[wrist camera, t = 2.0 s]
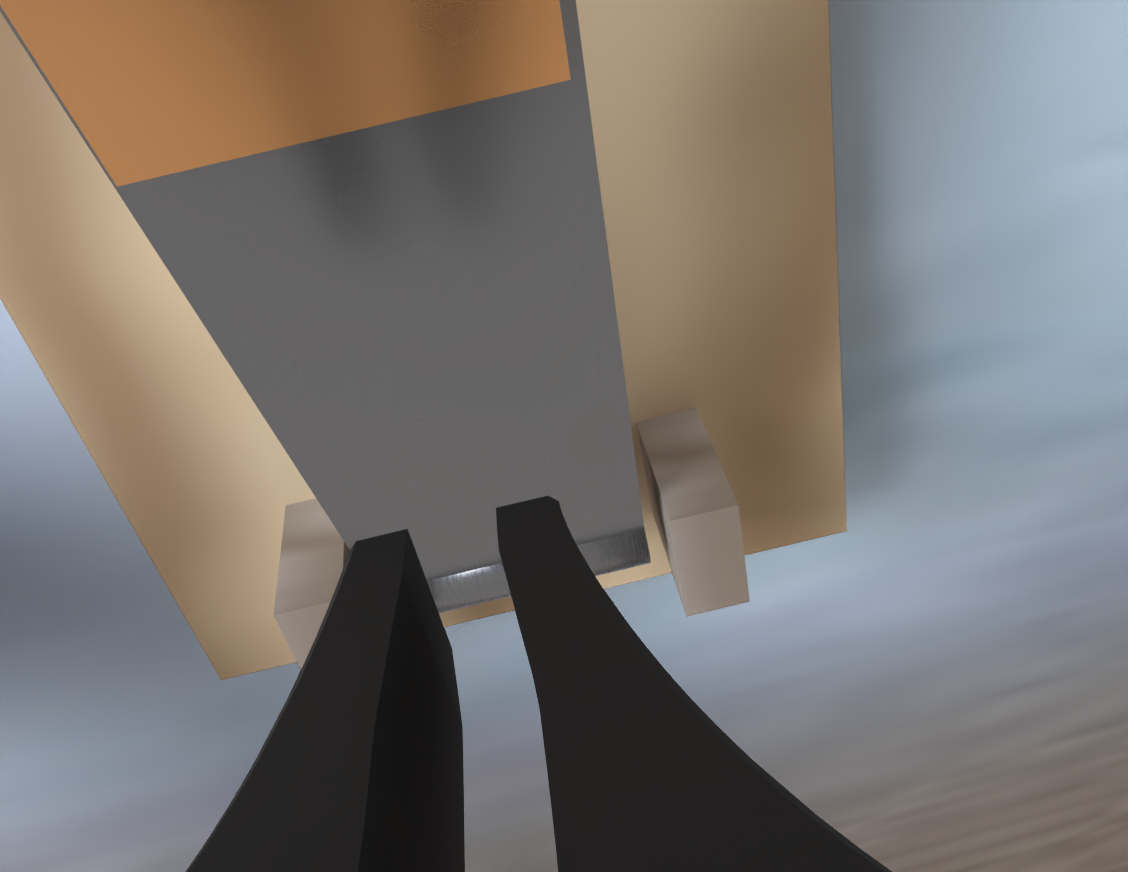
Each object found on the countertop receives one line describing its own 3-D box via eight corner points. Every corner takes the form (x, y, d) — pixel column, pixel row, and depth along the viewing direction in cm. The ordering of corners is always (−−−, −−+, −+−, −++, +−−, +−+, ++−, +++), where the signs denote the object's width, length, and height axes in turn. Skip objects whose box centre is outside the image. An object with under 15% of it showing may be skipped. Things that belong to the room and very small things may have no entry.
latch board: (231, 614, 25) (203, 797, 21) (-510, -757, 12) (-976, -985, 8) (816, 475, 25) (901, 630, 21) (731, -1044, 12) (917, -1417, 8)
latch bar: (390, 563, 21) (399, 642, 20) (-150, -346, 8) (-194, -243, 7) (633, 506, 21) (653, 581, 20) (490, -494, 8) (529, -413, 7)
